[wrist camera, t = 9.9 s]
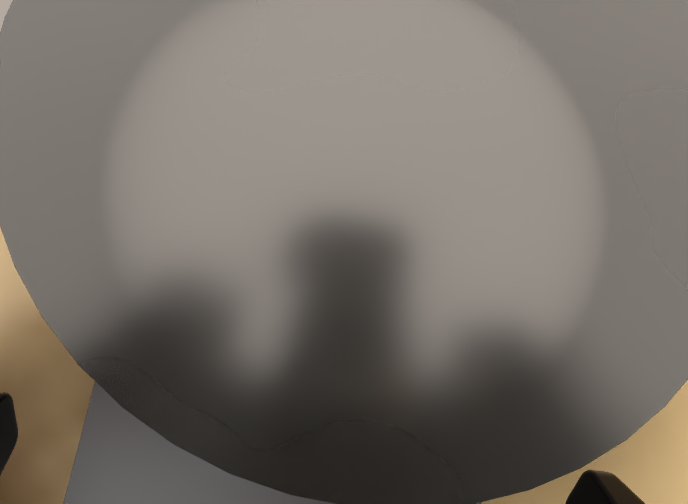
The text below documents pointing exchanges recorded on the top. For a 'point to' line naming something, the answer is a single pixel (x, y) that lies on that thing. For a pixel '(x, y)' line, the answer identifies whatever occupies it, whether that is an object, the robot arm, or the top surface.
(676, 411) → the top surface
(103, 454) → the pad
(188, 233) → the canister
